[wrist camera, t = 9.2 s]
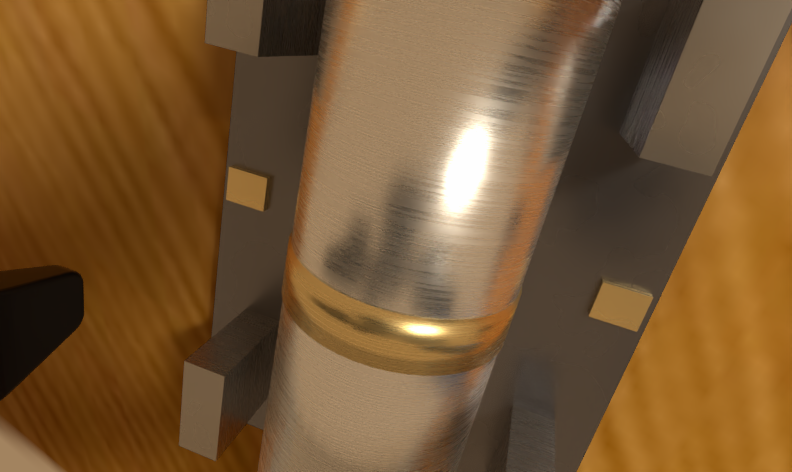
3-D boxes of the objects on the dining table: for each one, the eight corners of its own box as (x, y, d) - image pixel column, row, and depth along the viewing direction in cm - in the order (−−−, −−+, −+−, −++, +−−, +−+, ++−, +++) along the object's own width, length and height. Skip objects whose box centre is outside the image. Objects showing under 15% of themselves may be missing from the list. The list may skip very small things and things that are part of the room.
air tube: (646, -84, 10) (710, -196, 6) (446, 490, 16) (398, 661, 12) (405, -126, 11) (290, -249, 7) (302, 429, 17) (206, 564, 13)
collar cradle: (822, -67, 10) (952, -124, 7) (542, 526, 17) (540, 642, 13) (269, -166, 12) (166, -244, 9) (215, 396, 19) (144, 469, 15)
